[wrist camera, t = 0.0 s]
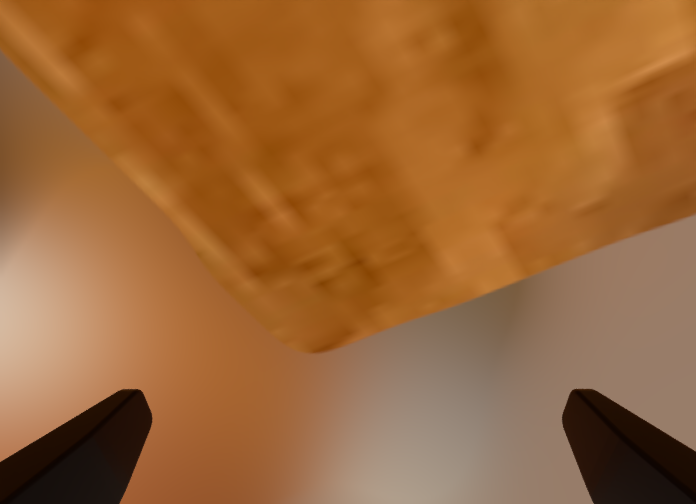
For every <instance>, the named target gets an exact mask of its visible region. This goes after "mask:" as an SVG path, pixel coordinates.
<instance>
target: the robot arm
mask: <svg viewBox="0 0 696 504" xmlns="http://www.w3.org/2000/svg"><path fill="white" fill-rule="evenodd" d="M562 423H563V428H564V430H565V433H566V436H567V438H568V441H569V443H570V446H571V449H572V451H573V454H574V456H575V459H576V462H577V464H578V467H579V469H580V472H581V474H582V477H583V480H584V482H585V485H586V487H587V490H588V492H589V494H590V496H591V499H592V501H593V503H594V504H696V451H694V450H692V449H691V448H689V447H688V446H686V445H684V444H683V443H681V442H679V441H678V440H676V439H674V438H672V437H671V436H669V435H668V434H666V433H665V432H663V431H661V430H660V429H658V428H656V427H655V426H653V425H651V424H650V423H648V422H647V421H645V420H643V419H641V418H640V417H638V416H637V415H635V414H633V413H632V412H630V411H628V410H627V409H625V408H624V407H622V406H620V405H619V404H617V403H615V402H614V401H612V400H611V399H609V398H607V397H606V396H604V395H602V394H601V393H599V392H597V391H595V390H593V389H574V390H572V391H571V393H570V395H569V398H568V401H567V404H566V406H565V409H564V412H563V415H562ZM151 424H152V413H151V411H150V408H149V406H148V403H147V401H146V399H145V396H144V394H143V392H142V391H141V390H138V389H123V390H120V391H118V392H116V393H115V394H113V395H111V396H110V397H108V398H106V399H104V400H103V401H101V402H99V403H98V404H96V405H94V406H93V407H91V408H89V409H88V410H86V411H84V412H83V413H81V414H80V415H78V416H76V417H74V418H73V419H71V420H69V421H68V422H66V423H65V424H63V425H61V426H59V427H58V428H56V429H54V430H53V431H51V432H49V433H48V434H46V435H45V436H43V437H41V438H39V439H38V440H36V441H35V442H33V443H31V444H29V445H28V446H26V447H24V448H23V449H21V450H19V451H18V452H16V453H14V454H13V455H11V456H9V457H8V458H6V459H5V460H3V461H1V462H0V504H119V503H120V501H121V499H122V497H123V495H124V493H125V491H126V488H127V486H128V483H129V481H130V479H131V476H132V473H133V471H134V469H135V466H136V464H137V461H138V458H139V456H140V454H141V451H142V448H143V446H144V443H145V441H146V438H147V436H148V433H149V431H150V428H151Z"/></svg>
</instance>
